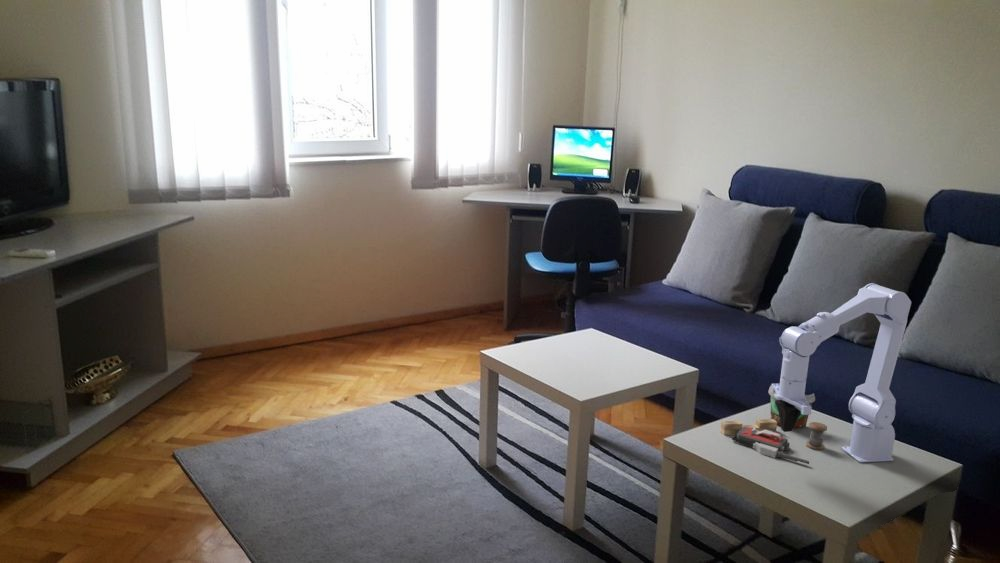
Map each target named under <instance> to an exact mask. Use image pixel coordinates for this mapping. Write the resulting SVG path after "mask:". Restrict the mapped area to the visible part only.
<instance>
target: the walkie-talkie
mask: <svg viewBox="0 0 1000 563" xmlns="http://www.w3.org/2000/svg"><path fill="white" fill-rule="evenodd" d="M731 440H733V441H735V442H736V443H737V444H739V445H742V446H746V447H749V448H752V449H754V450H755V451H756V452H757V453H758V454H760V455H763V456H764V455H765V456H767V457H771V458H772V459H775V458H777V457H778V458H783V459H787V460H789V461H793V462H796V463H797V462H800V463H804V464H806V465H807V464H808V465H810V461H809V460H808V459H803V458H799V457H797V456H793V455H790V454H787V453H784V451H789V448H790V442H789V440H788V438H786V437H783V435H781V433H778V432H777V431H776V432H772V431H769V430H763V431H758V430H756V428H753V429H751V428H748V427H743V428H742V429H741V430H740V431H739V432H738V433H737V434H736V435H733V436H732V437H731Z"/></svg>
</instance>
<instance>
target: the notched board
mask: <svg viewBox="0 0 1000 563" xmlns="http://www.w3.org/2000/svg"><path fill="white" fill-rule="evenodd" d="M720 423H721V425H720V430H719V431H720V432H719V433H721V434H722V435H724V436H726V435H727V436H728V435H729V436H730V435H733V436H734V435H737V433H738V432H739V431H740V430H741V429H742V428H743V427H748V428H751V429H753V428H756V430H758V431H763V430H769V431H772V432H776V433H777V428H778V426H777V422H776V421H775V420H774V419H771V418H769V419H768V418H767V419H766V418H764V419H756V420H755V424H743V423H742V422H741V421H740V420H723V421H721V422H720Z"/></svg>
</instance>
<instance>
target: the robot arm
mask: <svg viewBox="0 0 1000 563" xmlns="http://www.w3.org/2000/svg"><path fill="white" fill-rule="evenodd" d="M911 306H912V301H911V299H910V298H909V296H908V294H906V293H905V292H903V291H898V290H895V289H891V288H888V287H885V286H882V285H879V284H877V283H874V282H871V283H868V284H866V285H865V286H863V287H861V288H859V289H858V292H857V295H855V296H854V297H852V298H851V299H850V300H847V301H846V302H844V303H843V304H842V305H841V306H839V307H838V308H836V309H835V310H834V311H832V312H827V311H823V312H822V311H820V312H818V313H816V316H814V317H811V319H808V320H806V321H805V322H802V323H801V324H800V325H798V326H793V325H792V326H790V327H788V328H785V329H784V331H783V332H782V334H781V336H780V337H779V339H778V340H779V345H780V346H781V348H782V349H781V354H782V362H781V370H780V378H779V383H771V384H772V388H771V391H772V392H776V394H774V397H775V398H776V399H778V400H776V401H775V404H776V406H777V409H778V412H779V416H780V424H781V427H780V429H781V431H782V432H784V433H787V432H789V433H790V432H793V430H794V429H793V428H794V425H795V423H796V421H797V419H798V417H799V416H800V415H801V414H803V415H809V416H810V415H811V414H812V405H811V406H810V405H809V404H808V402H807V400H806V398H805V396H804V394H805V392H806V387H807V386H806V385H807V384H806V383H807V379H808V369H809V363H810V356H811V355H813V354H814V353H815V352H816V350H817V348H818V346H820V345H821V343H822V342H824V341H826V340H827V339H829V338H830V337H833V336H834V335H836V334H838V332H839V331H840V326H842V325H844V324H846V323H848V322H850V321H852V320H854V319H856V318H858V317H861V316H863V315H864V314H866V313H868V314H873V315H874V316H875V317H876V319H877V321H879V324H880V325H879V330H878V334H877V337H876V340H875V345H874V348H873V352H872V356H871V359H870V363H869V366H868V371H867V375H866V379H865V382H864V383H861V384H859V385H857V386H856V387H855V390H854V393H853V394H852V396H851V397H850V399H849V401H848V410H849V412H850V413H851V418H852V419H853V422H852V428H851V435H850V436H851V437H850V443H849V445H848V446H841V449H842V450H843V451H844V452H845V453H847V454H848V455H849V456H851V457H852V458H853V459H855V460H856V461H857V462H858V463H875V462H877V463H878V462H892V461H894V458H893V456H892V455H893V452H894V445H895V438H896V433H895V432H896V431H895V428H894V427H893V425H892V423H893V421H894V420H895V416H896V402H897V400H896V398H895V397H894V394H893V393H892V391H891V390H890V386H891V383H892V378H893V375H894V371H895V367H896V364H897V360H898V357H899V353H900V349H901V345H902V342H903V338H904V334H905V331H906V327H907V323H908V316H909V313H910V309H911ZM805 395H806V394H805Z"/></svg>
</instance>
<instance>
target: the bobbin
mask: <svg viewBox="0 0 1000 563" xmlns="http://www.w3.org/2000/svg"><path fill="white" fill-rule="evenodd" d="M808 428H809V429H810V435H809V440H807V441H806V443H805V446H806V447H807V448H809V449H811V450H814V451H823V450H824V449H825V444H824V443H823V438H824V432H826V431H827V430H828V426H827V425H826V424H824V423H821V422H816V421H813V422H812V421H811V422H809V423H808Z"/></svg>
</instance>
